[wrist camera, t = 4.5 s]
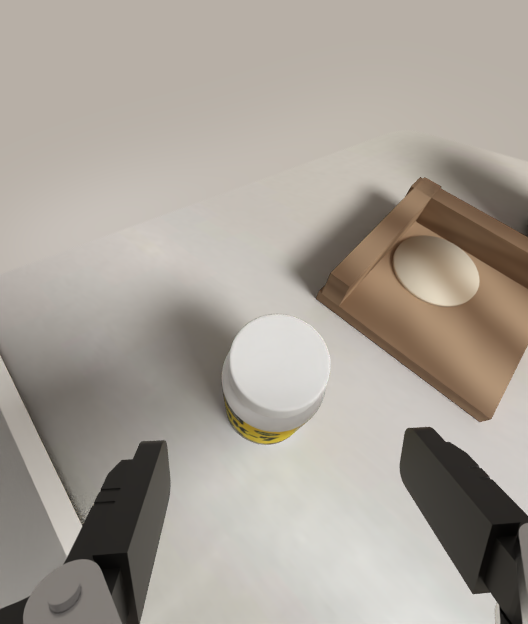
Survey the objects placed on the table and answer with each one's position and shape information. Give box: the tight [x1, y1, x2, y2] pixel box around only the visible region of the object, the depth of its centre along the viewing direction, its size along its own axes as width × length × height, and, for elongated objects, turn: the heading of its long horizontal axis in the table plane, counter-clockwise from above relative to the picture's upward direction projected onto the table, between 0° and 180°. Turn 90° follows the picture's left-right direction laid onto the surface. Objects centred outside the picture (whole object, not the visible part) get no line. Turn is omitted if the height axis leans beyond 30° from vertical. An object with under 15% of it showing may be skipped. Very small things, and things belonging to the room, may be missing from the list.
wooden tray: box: [316, 177, 528, 422], centre depth 23 cm, size 13×13×4 cm
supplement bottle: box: [221, 314, 330, 445], centre depth 16 cm, size 5×5×8 cm
